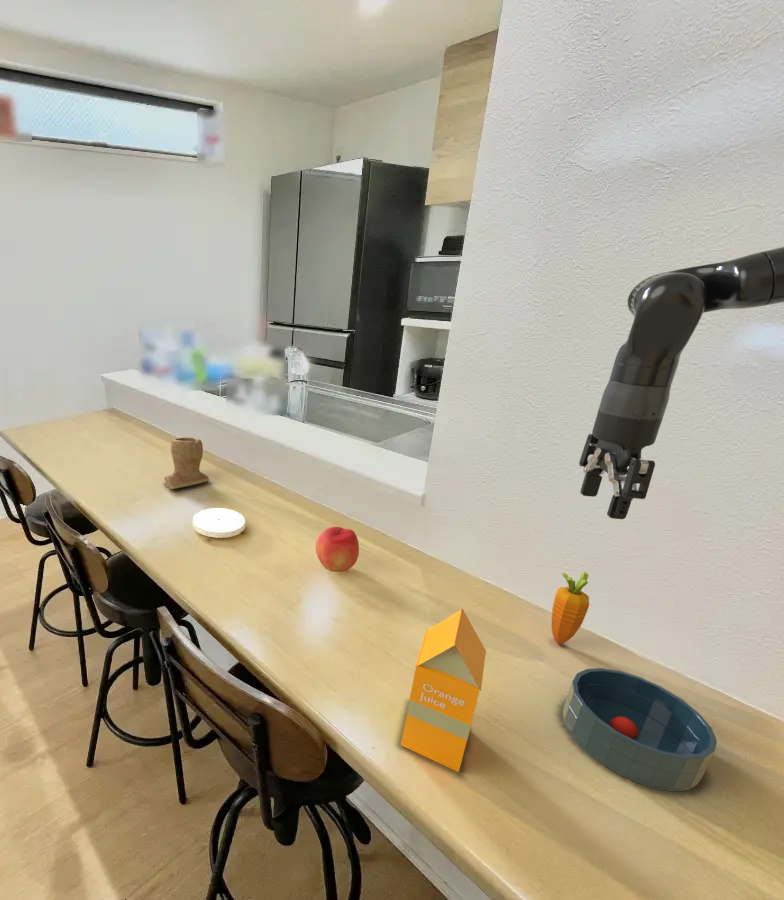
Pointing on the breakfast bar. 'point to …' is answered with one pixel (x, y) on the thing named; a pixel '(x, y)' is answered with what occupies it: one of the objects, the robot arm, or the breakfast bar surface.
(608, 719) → the bowl
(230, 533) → the plastic lid
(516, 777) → the breakfast bar surface
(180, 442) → the stone cup
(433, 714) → the orange juice
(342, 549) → the apple
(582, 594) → the carrot
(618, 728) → the ball
